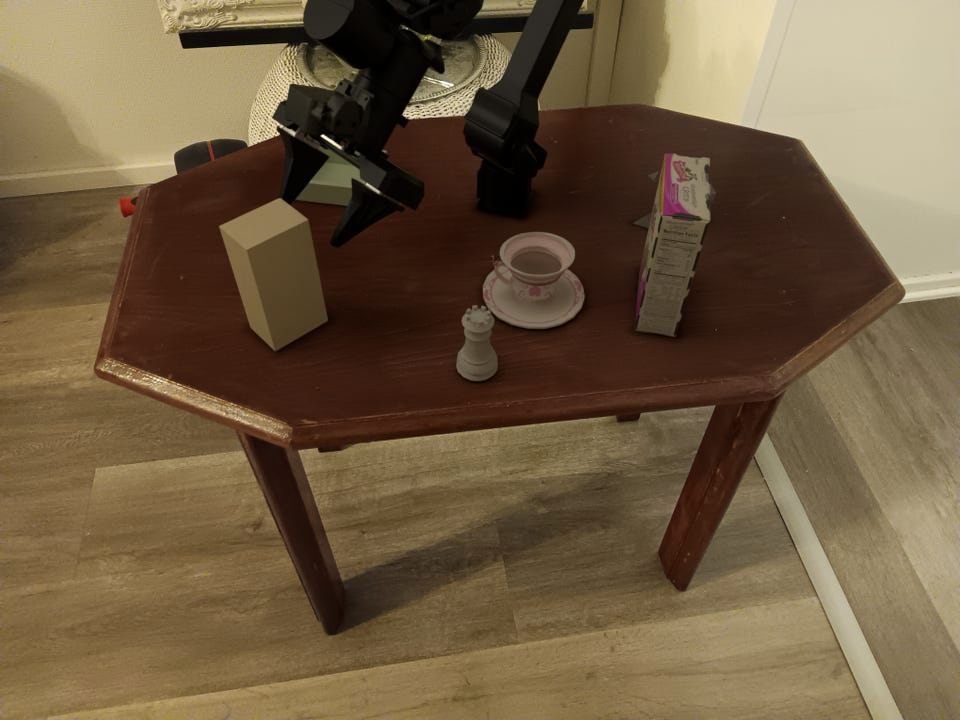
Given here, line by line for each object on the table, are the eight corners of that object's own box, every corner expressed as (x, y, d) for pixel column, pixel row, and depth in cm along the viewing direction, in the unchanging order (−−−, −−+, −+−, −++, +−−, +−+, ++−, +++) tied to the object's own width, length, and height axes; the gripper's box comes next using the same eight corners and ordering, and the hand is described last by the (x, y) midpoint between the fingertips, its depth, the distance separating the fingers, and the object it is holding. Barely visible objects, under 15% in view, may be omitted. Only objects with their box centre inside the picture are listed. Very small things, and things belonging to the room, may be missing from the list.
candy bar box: (636, 269, 88) (664, 150, 76) (678, 275, 87) (712, 156, 75) (631, 333, 81) (660, 212, 69) (676, 339, 80) (713, 219, 68)
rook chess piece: (454, 353, 78) (454, 299, 72) (495, 351, 78) (498, 297, 72) (457, 384, 75) (456, 331, 69) (500, 382, 75) (503, 328, 69)
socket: (388, 169, 102) (387, 150, 100) (370, 208, 96) (368, 189, 93) (310, 160, 103) (306, 141, 101) (287, 199, 97) (283, 179, 95)
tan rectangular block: (302, 298, 84) (280, 197, 73) (328, 320, 81) (308, 219, 71) (250, 327, 80) (218, 225, 70) (275, 351, 78) (246, 249, 68)
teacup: (569, 257, 89) (575, 216, 85) (596, 324, 81) (604, 283, 77) (474, 267, 88) (475, 226, 83) (492, 336, 80) (494, 295, 75)
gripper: (270, 17, 69) (197, 160, 72) (393, 87, 60) (304, 247, 63) (346, 71, 79) (278, 196, 82) (462, 138, 70) (381, 275, 73)
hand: (307, 225), depth 75 cm, fingers open, 9 cm apart
